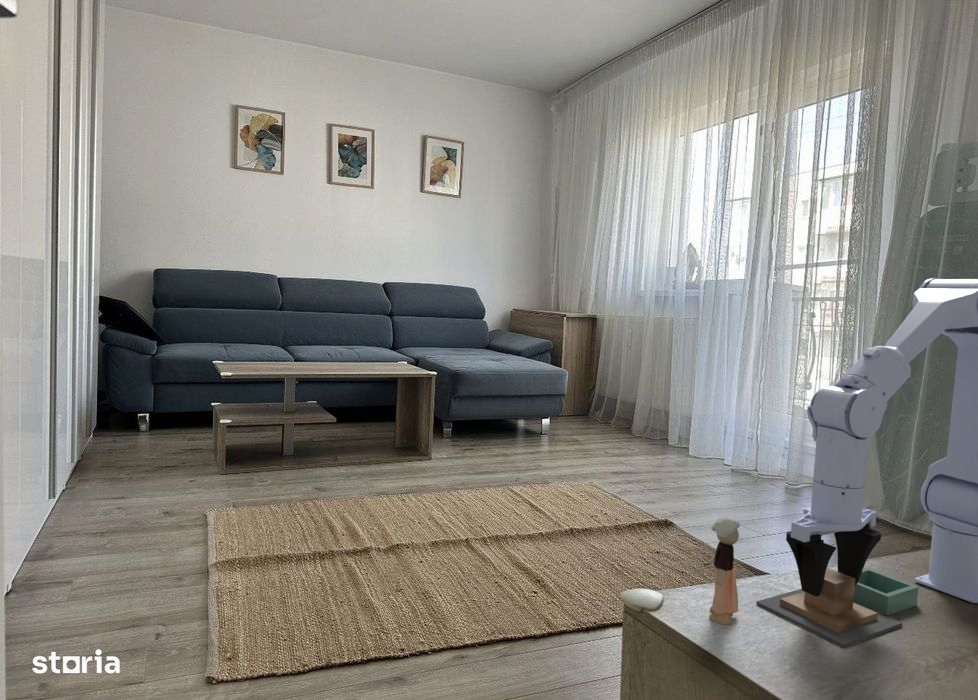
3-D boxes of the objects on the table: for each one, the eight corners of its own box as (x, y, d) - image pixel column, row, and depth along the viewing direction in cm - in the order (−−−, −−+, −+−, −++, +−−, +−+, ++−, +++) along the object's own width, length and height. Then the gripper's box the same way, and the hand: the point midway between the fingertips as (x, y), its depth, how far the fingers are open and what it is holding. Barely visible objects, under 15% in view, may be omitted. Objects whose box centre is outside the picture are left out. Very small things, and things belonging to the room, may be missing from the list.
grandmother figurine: (742, 631, 81) (750, 527, 80) (709, 626, 82) (716, 524, 81) (733, 603, 88) (739, 508, 87) (702, 599, 89) (708, 505, 88)
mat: (814, 587, 94) (814, 585, 94) (902, 626, 84) (902, 622, 84) (756, 604, 88) (756, 601, 88) (843, 647, 78) (843, 644, 78)
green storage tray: (865, 584, 96) (866, 567, 96) (916, 605, 90) (918, 586, 90) (835, 593, 92) (836, 576, 92) (886, 615, 86) (888, 596, 86)
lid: (818, 593, 91) (821, 558, 91) (877, 619, 84) (880, 581, 84) (779, 604, 87) (782, 568, 87) (837, 632, 81) (841, 593, 80)
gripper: (843, 469, 92) (835, 566, 93) (772, 480, 84) (764, 585, 86) (896, 482, 86) (886, 586, 87) (825, 495, 78) (815, 608, 79)
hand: (829, 587), depth 86 cm, fingers open, 7 cm apart
